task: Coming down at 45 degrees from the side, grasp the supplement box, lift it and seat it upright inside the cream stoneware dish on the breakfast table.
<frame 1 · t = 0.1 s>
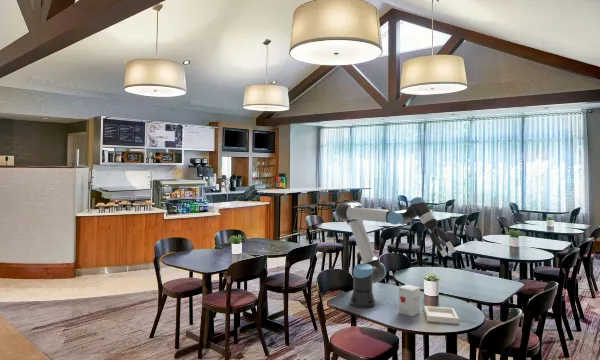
hand: (449, 254, 219), 36 cm above the table, tool tilted 35°, fingers open, 13 cm apart
stoneware dish: (440, 317, 220), on the table
supplement box: (409, 313, 226), on the table
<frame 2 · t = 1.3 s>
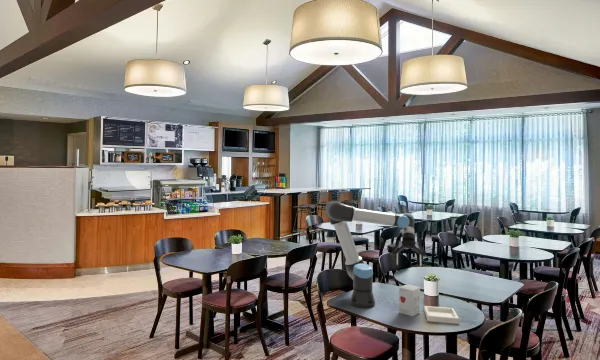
hand: (408, 264, 236), 26 cm above the table, tool tilted 45°, fingers open, 13 cm apart
nothing on the table moved.
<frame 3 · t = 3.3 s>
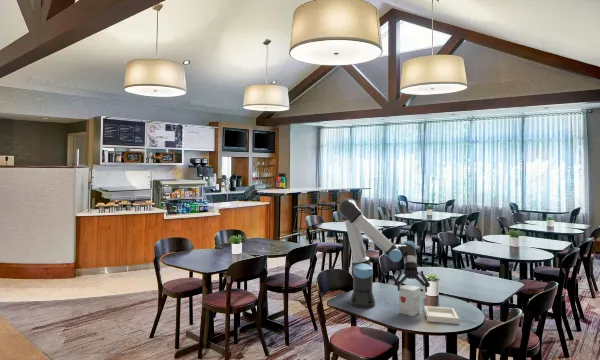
hand: (412, 296, 228), 9 cm above the table, tool tilted 45°, fingers open, 13 cm apart
supplement box: (409, 313, 226), on the table, touching gripper
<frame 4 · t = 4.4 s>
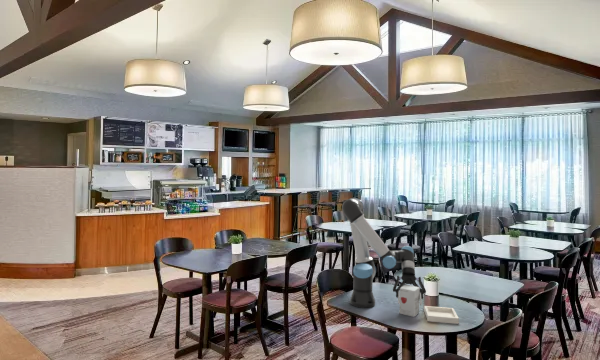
hand: (409, 303, 224), 6 cm above the table, tool tilted 45°, fingers closed on supplement box, 11 cm apart
supplement box: (409, 313, 226), on the table, touching gripper
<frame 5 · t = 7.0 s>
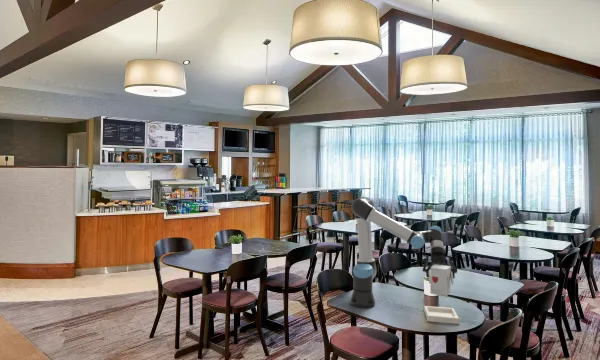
hand: (441, 282, 217), 20 cm above the table, tool tilted 45°, fingers closed on supplement box, 11 cm apart
supplement box: (440, 293, 219), point 14 cm above the table, touching gripper
when the fingers open (9 cm above the table, at t = 9.7 s): supplement box drops 1 cm, resting on stoneware dish.
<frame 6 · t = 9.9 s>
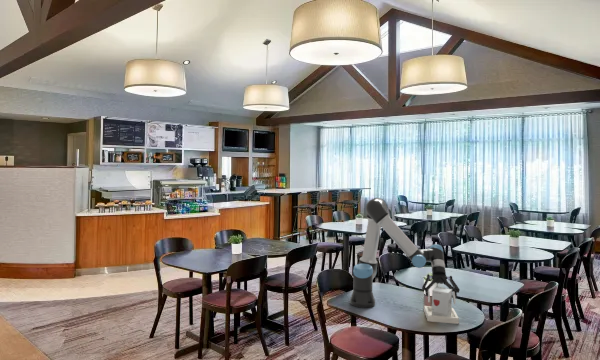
hand: (441, 302, 218), 9 cm above the table, tool tilted 45°, fingers open, 13 cm apart
supplement box: (441, 316, 219), point 1 cm above the table, touching stoneware dish
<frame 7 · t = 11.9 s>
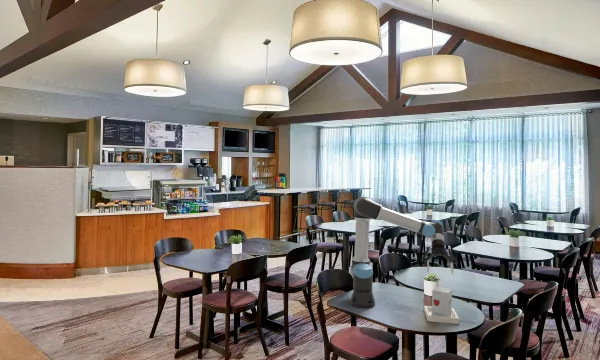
hand: (440, 272, 230), 23 cm above the table, tool tilted 45°, fingers open, 13 cm apart
nothing on the table moved.
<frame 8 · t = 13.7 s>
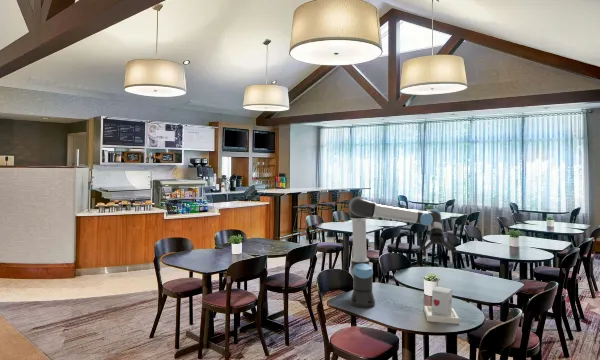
hand: (439, 260, 230), 30 cm above the table, tool tilted 45°, fingers open, 13 cm apart
nothing on the table moved.
at the end: supplement box inside the target area on the stoneware dish (0.7 cm from its centre), point 0.8 cm above the stoneware dish's base; supplement box tilted 0°; the gripper is holding nothing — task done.
